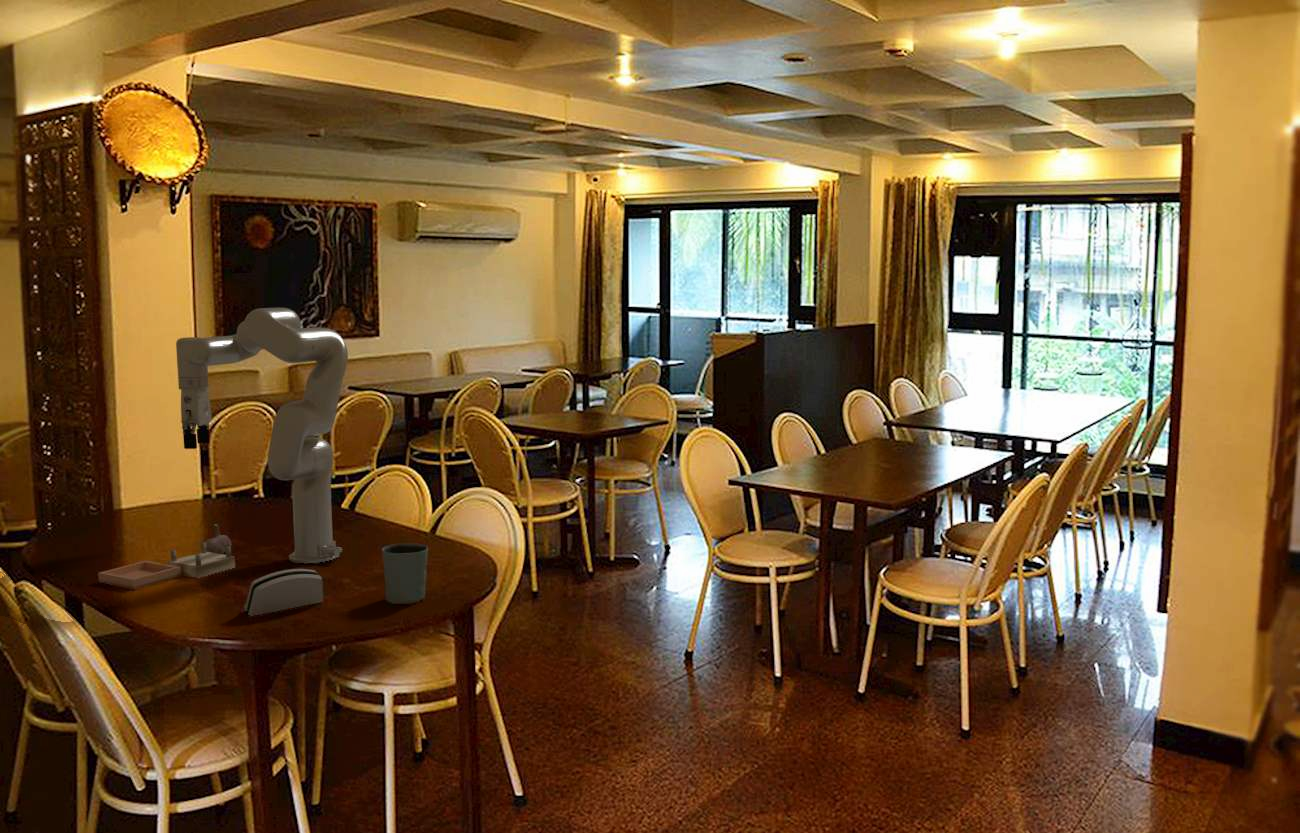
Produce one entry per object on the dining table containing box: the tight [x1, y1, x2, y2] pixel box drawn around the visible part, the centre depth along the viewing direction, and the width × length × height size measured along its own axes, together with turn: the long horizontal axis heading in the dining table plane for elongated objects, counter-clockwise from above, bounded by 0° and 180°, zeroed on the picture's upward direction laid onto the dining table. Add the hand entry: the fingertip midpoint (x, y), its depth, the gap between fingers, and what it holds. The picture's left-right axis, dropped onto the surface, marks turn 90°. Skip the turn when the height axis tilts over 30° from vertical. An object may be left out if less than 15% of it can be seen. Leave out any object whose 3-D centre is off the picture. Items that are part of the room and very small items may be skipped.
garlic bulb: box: [204, 523, 232, 555], centre depth 295 cm, size 8×7×8 cm
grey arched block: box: [243, 568, 324, 617], centre depth 246 cm, size 17×5×10 cm, turn 129°
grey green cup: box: [381, 542, 429, 603], centre depth 252 cm, size 10×10×12 cm
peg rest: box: [167, 542, 236, 579], centre depth 278 cm, size 11×11×6 cm
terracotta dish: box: [97, 560, 182, 590], centre depth 270 cm, size 13×13×2 cm
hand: (197, 445), depth 303 cm, fingers open, 9 cm apart
